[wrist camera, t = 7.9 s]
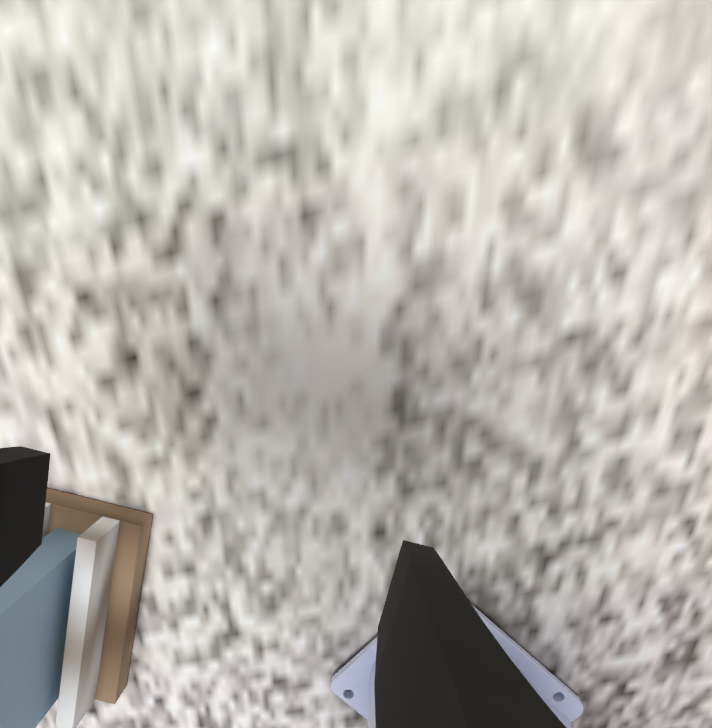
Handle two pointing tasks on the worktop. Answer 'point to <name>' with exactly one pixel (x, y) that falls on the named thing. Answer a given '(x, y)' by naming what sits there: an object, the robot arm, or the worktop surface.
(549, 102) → the worktop surface
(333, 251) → the worktop surface
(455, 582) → the robot arm
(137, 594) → the bottom track
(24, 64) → the worktop surface
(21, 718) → the door panel
